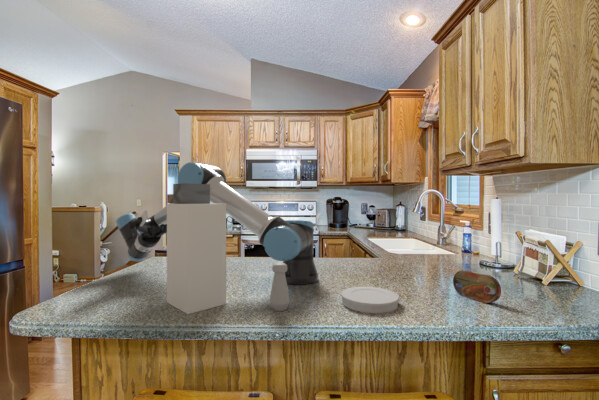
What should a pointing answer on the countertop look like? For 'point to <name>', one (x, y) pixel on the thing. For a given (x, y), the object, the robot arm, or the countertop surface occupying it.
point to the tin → (477, 286)
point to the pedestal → (196, 256)
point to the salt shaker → (279, 288)
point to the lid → (370, 299)
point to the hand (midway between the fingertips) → (166, 213)
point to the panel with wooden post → (189, 194)
